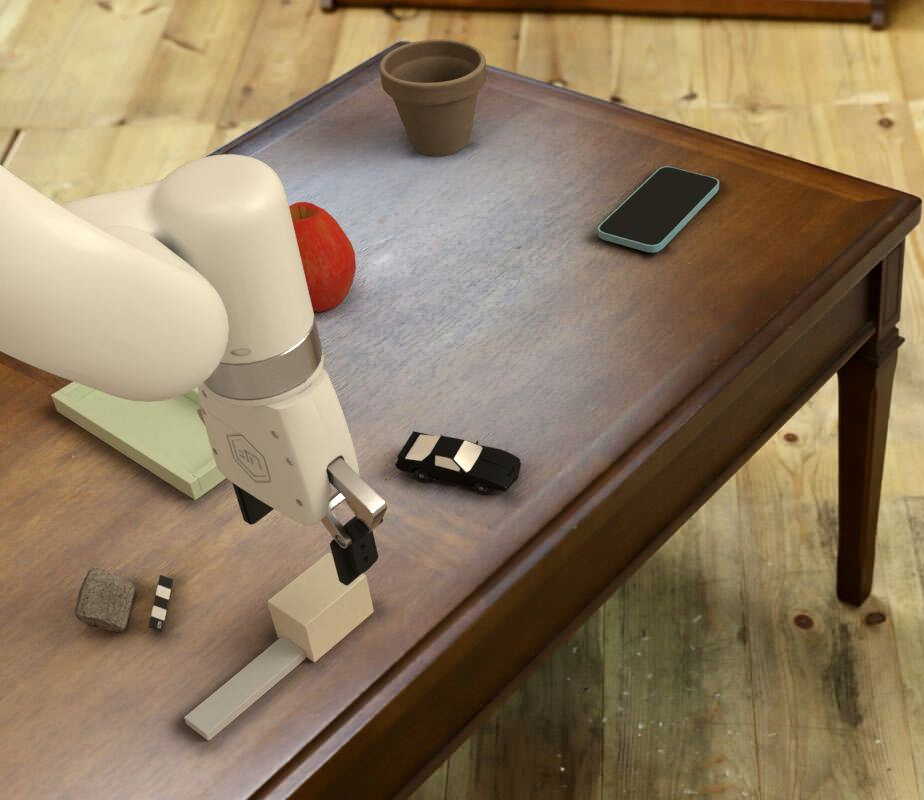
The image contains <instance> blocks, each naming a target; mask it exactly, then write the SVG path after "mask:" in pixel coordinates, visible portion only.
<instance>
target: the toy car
mask: <svg viewBox="0 0 924 800" xmlns="http://www.w3.org/2000/svg"><path fill="white" fill-rule="evenodd" d="M396 458H397V460H396V462H395V464H394V467H395V468H396V469H397V470H399V471H402V472H404V473H408V474H411V475H413V477H414V478H415V480H417V481H418V482H420V483H428V482H429V481H430V479H431V480H433V481H437V482H441V483H442V482H443V483H446V484H451V485H454V486H455V485H456V486H460V487H465V488H470V489H474V491H475V492H476V493H478V494H479V495H485V496H486V495H488V494H489V493H490V492H491V490H493V491H500V492H507V491H508V490H509V489H510V488H511V487H512V486H513V485H514V484H515V483H516V481H518V479H519V475H520V471H521V467H522V462H521V458H519V457H518V456H516V455H515V454H513V453H511V452H509V451H507V450H503V449H501V448H498V447H497V448H496V447H492V446H487V445H481V444H479V440H476V441H475V442H472V441H469V440H466V439H462V438H457V437H452V436H446V435H442V434H441V435H433V434H428V433H424V432H419V431H412V433H411V434H410V436H409V437H408V439H407V440H406V442H405V444H404V445H403V447H402V448H401V449H400V451H399V453H398V454H397V456H396Z"/></svg>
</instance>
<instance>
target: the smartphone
mask: <svg viewBox="0 0 924 800" xmlns="http://www.w3.org/2000/svg"><path fill="white" fill-rule="evenodd" d="M719 191H720V180H719V179H718V178H716V177H713V176H710V175H705V174H701V173H697V172H693V171H691V170H685V169H681V168H677V167H674V166H667V165H666V166H662V167H659V168H658V169H656V171H654V172H653V173H652V174H651V175H650V176H649V177H648V178H647V179H646V180H645V181H644V182H642V184H641V185H640V186H638V188H637V189H636V190H635V191H633V193H631V194H630V195H629V196H628V197H627V198H626V199H625V200H624V201H623V202H622V203H621V204H620V205H619V206H618V207H617V208H615V210H614V211H612V213H610V214H609V215H608V216H607V217H606V218H605V219H604V220H603V221H602V222H601V223H600V224H599V225H598V227H597V237H598V238H599V239H601V240H603V241H607V242H611V243H614V244H618V245H620V246H625V247H628V248H632V249H635V250H639V251H641V252H646V253H652V254H653V253H658V252H660V251H662V250H663V249H664V248H665V247H666V246H667V245H668V244H669V243H670V242H671V241H672V240H673V239H674V238H675V237H676V235H678V233H679V232H680V231H682V229H683V228H684V227H685V226H686V225H687V224H688V223H689V222H690V221H691V220H692V219H693V218H694V217H695V216H696V215H697V214H698V213H699V211H701V210H702V208H703V207H704V206H706V204H708V202H709V201H710V200H711V199H712V198H713V197H714V196H715V195H716V194H717V193H718V192H719Z"/></svg>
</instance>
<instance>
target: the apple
mask: <svg viewBox="0 0 924 800" xmlns="http://www.w3.org/2000/svg"><path fill="white" fill-rule="evenodd" d="M289 209H290V213H291V218H292V222H293V226H294V231H295V235H296V239H297V244H298V248H299V252H300V257H301V261H302V265H303V270H304V274H305V278H306V283H307V287H308V291H309V295H310V300H311V304H312V308H313V312H319V313H322V312H326V311H331V310H334V309H336V308H337V307H338V306H339V305H341V304H342V303H343V302H344V300H345V299H346V297H347V295H348V294H349V291H350V290H351V287H352V285H353V282H354V279H355V274H356V270H357V263H356V262H357V261H356V252H355V249H354V246H353V244H352V242H351V240H350V239H349V237H348V236H347V234H346V232H345V231H344V229H343V228H342V227H341V225H340V224H339V222H338V221H337V220H336V219H335V218H334V217H333V216H332V215H331V214H330V213H329V212H328V211H327V210H326V209H324V208H322V207H320V206H318V205H316V204H315V203H312V202H307V201H296V202H294V203H292V204H290V205H289Z"/></svg>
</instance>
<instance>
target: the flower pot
mask: <svg viewBox="0 0 924 800" xmlns="http://www.w3.org/2000/svg"><path fill="white" fill-rule="evenodd" d="M378 69H379V74H380V81H381V87H382V89H383V91H384V93H386V94H387V95H388V96H389V97H391V98H392V100H393V103H394V105H395V107H396V110H397V112H398V115H399V118H400V120H401V123H402V126H403V128H404V130H405V133H406V135H407V137H408V140H409V142H410V144H411V146H412V147H413V149H414V150H415V151H417V152H419V153H420V154H422V155H428V156H435V157H438V156H439V157H440V156H441V157H442V156H449V155H452V154H455V153H458V152H459V151H462V150H463V149H464V148H466V147H467V146H468V144H469V142H470V139H471V134H472V130H473V125H474V120H475V114H476V106H477V100H478V94H479V91H481V89H482V88H483V86H484V85H485V83H486V79H487V60H486V56H485V54H484V53H483V52H482V50H480V49H479V48H478V47H476V46H474V45H472V44H469V43H467V42H463V41H459V40H454V39H441V38H440V39H435V38H434V39H424V40H418V41H413V42H409V43H405V44H403V45H401V46H398V47H395V48H394V49H393V50H390V51H389V52H388V53H386V54H384V56H383V57H382V58H381V60H380V61H379V68H378Z"/></svg>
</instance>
